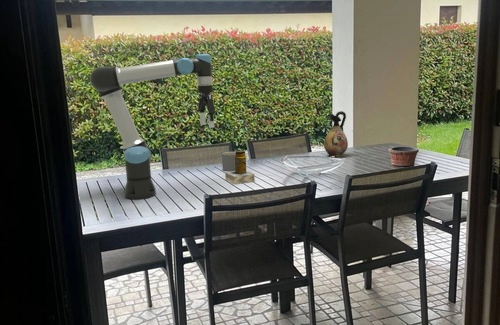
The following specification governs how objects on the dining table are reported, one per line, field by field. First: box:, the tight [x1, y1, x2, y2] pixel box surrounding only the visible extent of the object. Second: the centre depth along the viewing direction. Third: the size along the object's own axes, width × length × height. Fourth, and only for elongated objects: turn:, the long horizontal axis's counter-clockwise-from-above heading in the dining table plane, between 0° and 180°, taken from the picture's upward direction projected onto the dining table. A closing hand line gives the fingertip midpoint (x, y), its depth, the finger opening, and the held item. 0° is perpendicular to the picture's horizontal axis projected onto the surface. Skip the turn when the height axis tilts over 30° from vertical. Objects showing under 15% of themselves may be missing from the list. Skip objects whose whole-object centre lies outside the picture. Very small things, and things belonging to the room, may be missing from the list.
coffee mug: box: [221, 151, 236, 172], centre depth 274 cm, size 13×10×10 cm
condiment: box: [230, 150, 250, 175], centre depth 244 cm, size 7×8×12 cm
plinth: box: [224, 169, 255, 185], centre depth 246 cm, size 12×12×4 cm
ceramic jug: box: [323, 110, 349, 158], centre depth 299 cm, size 17×15×30 cm
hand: (207, 126), depth 236 cm, fingers open, 13 cm apart
